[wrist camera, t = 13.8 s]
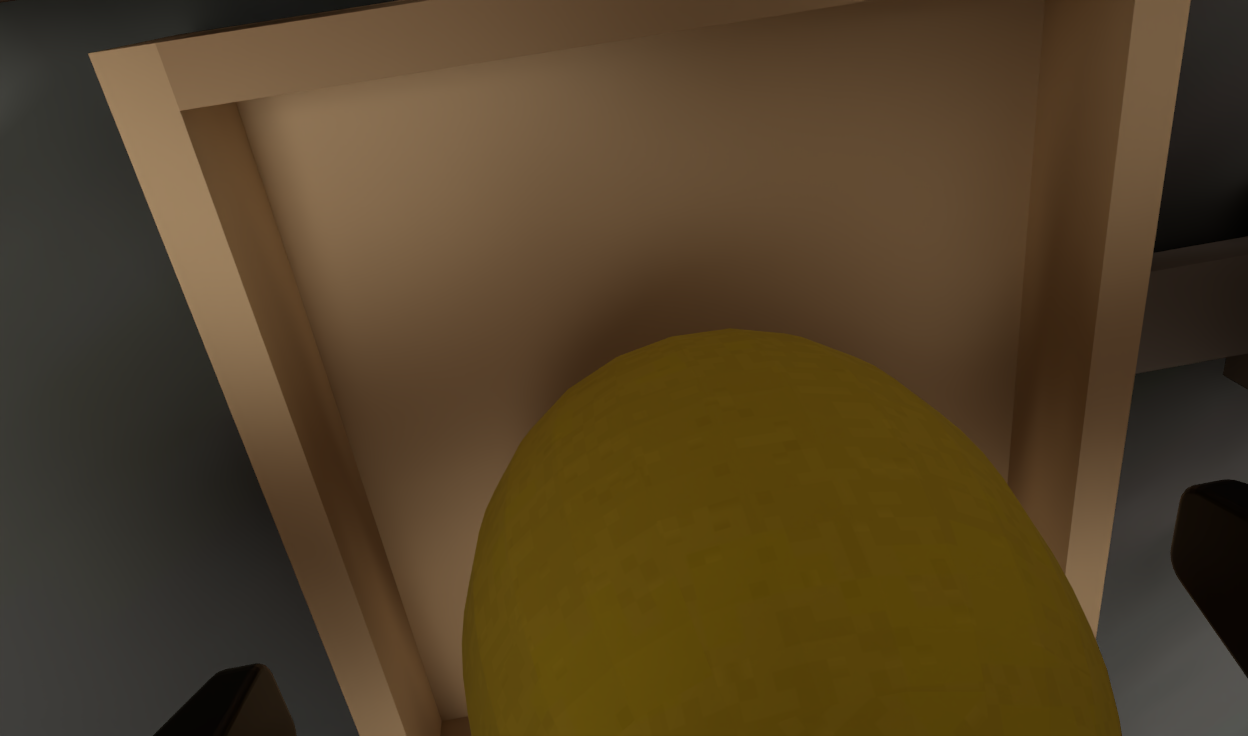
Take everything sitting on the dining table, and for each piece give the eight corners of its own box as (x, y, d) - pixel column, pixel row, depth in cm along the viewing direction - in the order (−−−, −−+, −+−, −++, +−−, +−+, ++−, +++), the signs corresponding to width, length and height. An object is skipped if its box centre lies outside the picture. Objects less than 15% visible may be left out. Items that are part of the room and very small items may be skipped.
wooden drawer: (1340, 545, 15) (1593, 724, 12) (418, 724, 15) (385, 973, 11) (1561, -181, 10) (2116, -258, 7) (176, 35, 10) (-28, 78, 6)
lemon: (603, 625, 13) (731, 1401, 6) (384, 371, 11) (195, 1222, 4) (918, 456, 13) (1446, 1125, 6) (766, 140, 10) (1403, 669, 3)
